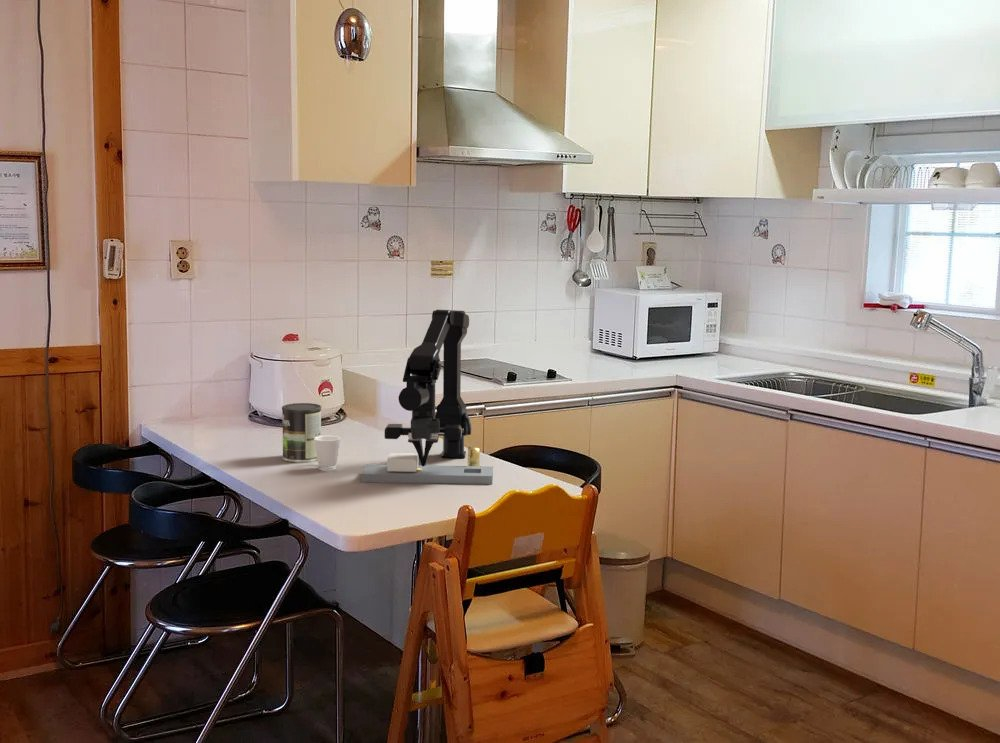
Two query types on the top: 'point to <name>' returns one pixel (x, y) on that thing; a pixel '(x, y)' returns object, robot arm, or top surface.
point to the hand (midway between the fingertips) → (423, 465)
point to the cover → (402, 462)
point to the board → (430, 474)
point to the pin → (473, 456)
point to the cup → (327, 451)
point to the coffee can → (300, 431)
